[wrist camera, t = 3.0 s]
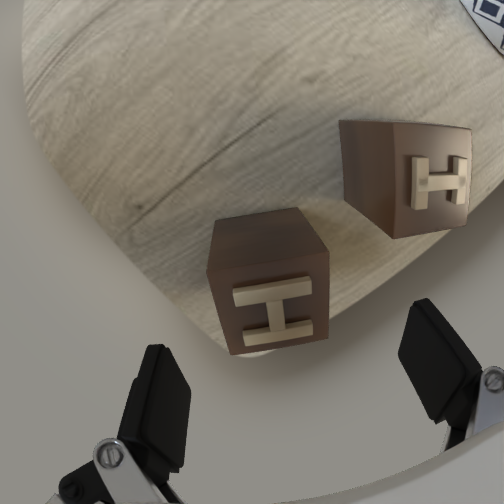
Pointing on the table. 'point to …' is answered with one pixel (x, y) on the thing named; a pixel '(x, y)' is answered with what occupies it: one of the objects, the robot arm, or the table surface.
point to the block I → (407, 174)
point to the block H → (269, 281)
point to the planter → (488, 19)
